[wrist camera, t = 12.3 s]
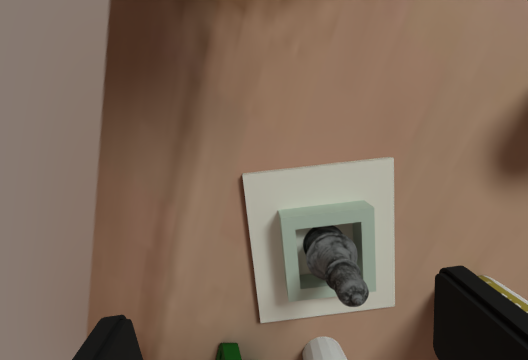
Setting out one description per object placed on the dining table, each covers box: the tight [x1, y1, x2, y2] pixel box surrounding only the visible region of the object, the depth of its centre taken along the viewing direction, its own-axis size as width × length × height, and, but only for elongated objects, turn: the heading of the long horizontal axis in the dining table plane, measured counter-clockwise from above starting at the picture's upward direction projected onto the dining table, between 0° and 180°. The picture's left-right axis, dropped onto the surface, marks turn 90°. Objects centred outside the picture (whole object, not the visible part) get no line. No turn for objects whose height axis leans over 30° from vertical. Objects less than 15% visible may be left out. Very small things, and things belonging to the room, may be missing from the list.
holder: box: [242, 157, 395, 323], centre depth 35 cm, size 20×18×4 cm
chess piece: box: [303, 225, 369, 307], centre depth 30 cm, size 6×6×12 cm
